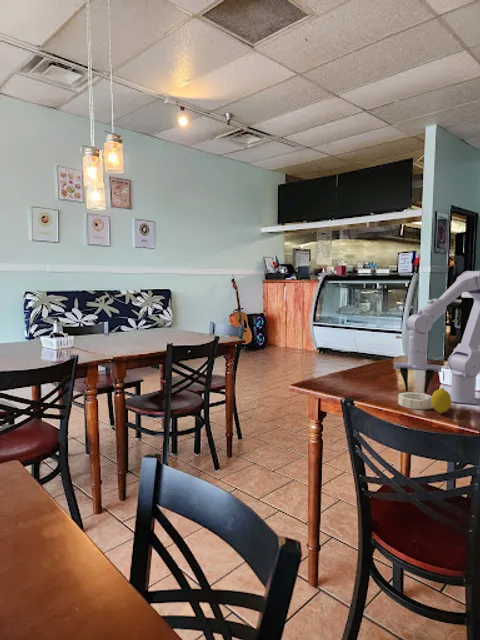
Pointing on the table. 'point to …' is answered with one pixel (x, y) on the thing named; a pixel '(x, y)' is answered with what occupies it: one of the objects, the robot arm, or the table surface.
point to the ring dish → (415, 400)
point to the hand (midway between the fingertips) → (416, 391)
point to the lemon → (441, 400)
